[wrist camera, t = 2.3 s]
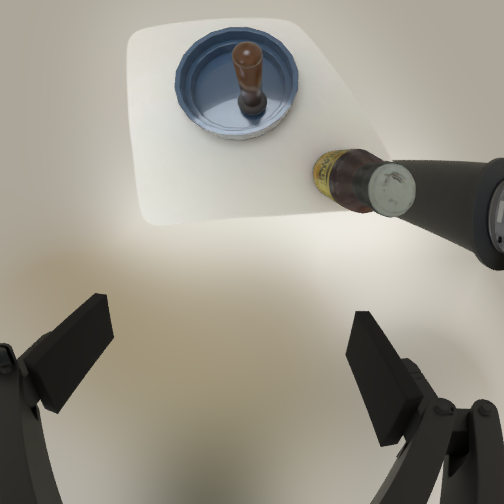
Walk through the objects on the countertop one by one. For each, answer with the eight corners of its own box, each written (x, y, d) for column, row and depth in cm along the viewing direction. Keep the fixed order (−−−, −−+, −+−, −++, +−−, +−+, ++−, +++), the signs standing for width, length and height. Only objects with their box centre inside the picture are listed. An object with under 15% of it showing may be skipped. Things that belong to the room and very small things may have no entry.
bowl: (293, 47, 33) (298, 30, 27) (290, 142, 37) (296, 138, 31) (191, 46, 33) (180, 30, 27) (184, 140, 37) (171, 135, 31)
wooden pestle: (233, 102, 34) (209, 47, 16) (255, 86, 33) (251, 21, 16) (250, 122, 35) (241, 81, 17) (272, 106, 34) (284, 54, 16)
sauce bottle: (335, 142, 36) (403, 124, 17) (363, 178, 38) (445, 193, 18) (299, 172, 38) (339, 177, 19) (328, 208, 39) (387, 246, 20)
